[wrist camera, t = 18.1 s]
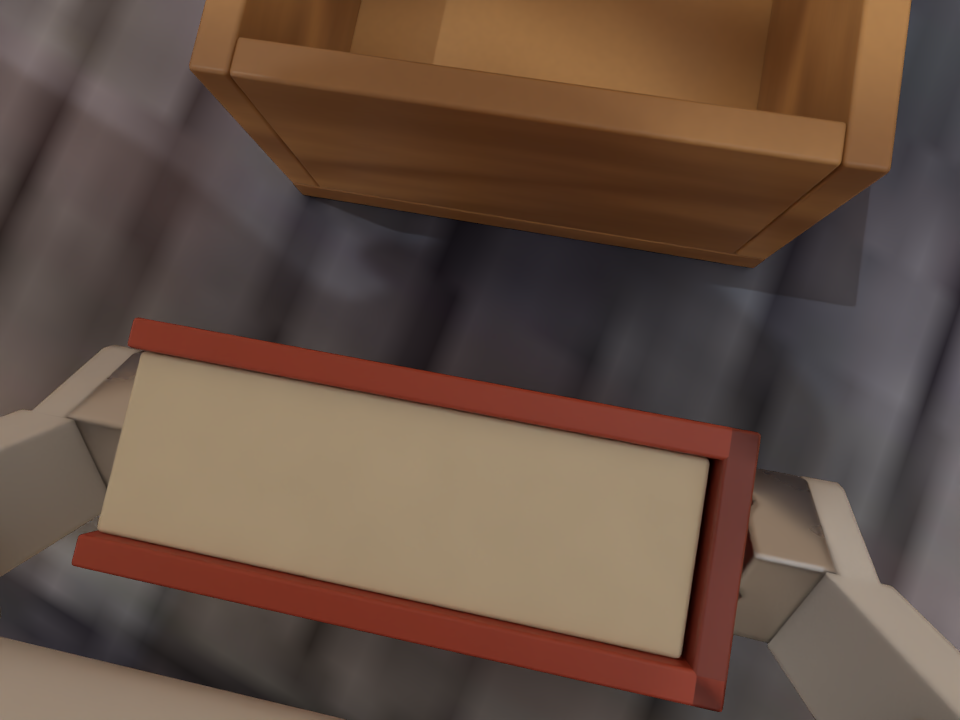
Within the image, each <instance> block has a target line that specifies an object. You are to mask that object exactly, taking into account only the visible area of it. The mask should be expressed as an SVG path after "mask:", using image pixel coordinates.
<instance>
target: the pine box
mask: <svg viewBox="0 0 960 720" xmlns="http://www.w3.org/2000/svg"><path fill="white" fill-rule="evenodd" d="M910 7H911V0H206V2H205V6H204V10H203V14H202V17H201V21H200V25H199V29H198V33H197V37H196V41H195V45H194V48H193V52H192V56H191V60H190V64H189V68H190V70H191V71H192V73H193V74H194V75H195V76H196V77H197V78H198V79H199V80H200V81H201V82H202V84H203V85H204V86H205V87H206V88H207V89H208V90H209V91H210V92H211V93H212V95H213V96H214V97H215V98H216V99H217V100H218V101H219V102H220V103H221V104H222V106H223V107H224V108H225V109H226V110H227V111H228V112H229V113H230V114H231V115H232V117H233V118H234V119H235V120H236V121H237V122H238V123H239V124H240V125H241V126H242V128H243V129H244V130H245V131H246V132H247V133H248V134H249V135H250V136H251V137H252V139H253V140H254V141H255V142H256V143H257V144H258V145H259V146H260V147H261V148H262V150H263V151H264V152H265V153H266V154H267V155H268V156H269V157H270V158H271V159H272V161H273V162H274V163H275V164H276V165H277V166H278V167H279V168H280V169H281V170H282V171H283V173H284V174H285V175H286V176H287V177H288V178H289V179H290V180H291V181H292V182H293V184H294V185H295V187H296V188H297V189H298V190H299V191H300V192H301V193H302V194H303V195H309V196H315V197H321V198H327V199H333V200H339V201H345V202H352V203H358V204H364V205H370V206H376V207H382V208H388V209H394V210H400V211H407V212H413V213H419V214H425V215H431V216H437V217H443V218H449V219H455V220H462V221H468V222H474V223H480V224H486V225H492V226H498V227H504V228H511V229H517V230H523V231H529V232H535V233H541V234H547V235H553V236H559V237H566V238H572V239H578V240H584V241H590V242H596V243H602V244H608V245H615V246H621V247H627V248H633V249H639V250H645V251H651V252H657V253H663V254H670V255H676V256H682V257H688V258H694V259H700V260H706V261H712V262H718V263H725V264H731V265H737V266H743V267H749V268H754V267H755V266H757V265H758V264H760V263H761V262H763V261H764V260H765V258H767V257H769V256H770V255H772V254H773V253H774V252H776V251H777V250H779V249H780V248H782V247H783V246H784V245H786V244H787V243H789V242H790V241H792V240H793V239H794V238H796V237H797V236H799V235H800V234H802V233H803V232H804V231H806V230H807V229H809V228H810V227H812V226H813V225H814V224H816V223H817V222H819V221H820V220H822V219H823V218H824V217H826V216H827V215H829V214H830V213H831V212H833V211H834V210H836V209H837V208H839V207H840V206H841V205H843V204H844V203H846V202H847V201H849V200H850V199H851V198H853V197H854V196H856V195H857V194H859V193H860V192H861V191H863V190H864V189H866V188H867V187H869V186H870V185H871V184H873V183H874V182H876V181H877V180H879V179H880V178H881V177H883V176H884V175H886V174H887V173H888V172H889V170H890V168H891V161H892V153H893V145H894V137H895V129H896V120H897V112H898V104H899V96H900V88H901V80H902V72H903V64H904V56H905V48H906V40H907V31H908V23H909V15H910Z"/></svg>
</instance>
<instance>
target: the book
mask: <svg viewBox="0 0 960 720" xmlns="http://www.w3.org/2000/svg"><path fill="white" fill-rule="evenodd" d="M128 346H130V347H131V348H136V349H140V350H145V351H146V352H143V353H142V354H141V356H140V360H139V364H138V368H137V372H136V376H135V380H134V384H133V388H132V392H131V396H130V400H129V404H128V408H127V411H126V415H125V419H124V423H123V427H122V431H121V435H120V439H119V443H118V447H117V451H116V455H115V459H114V463H113V467H112V471H111V475H110V479H109V483H108V487H107V491H106V495H105V498H104V502H103V506H102V510H101V514H100V518H99V522H98V526H97V527H98V531H94V532H89V533H85V534H81V535H79V537H78V539H77V543H76V547H75V551H74V555H73V559H72V565H73V566H77V567H81V568H85V569H90V570H94V571H99V572H103V573H108V574H112V575H116V576H121V577H125V578H130V579H134V580H138V581H143V582H147V583H152V584H156V585H160V586H165V587H169V588H174V589H178V590H183V591H187V592H191V593H196V594H200V595H205V596H209V597H213V598H218V599H222V600H227V601H231V602H236V603H240V604H244V605H249V606H253V607H258V608H262V609H266V610H271V611H275V612H280V613H284V614H289V615H293V616H297V617H302V618H306V619H311V620H315V621H319V622H324V623H328V624H333V625H337V626H342V627H346V628H350V629H355V630H359V631H364V632H368V633H372V634H377V635H381V636H386V637H390V638H395V639H399V640H403V641H408V642H412V643H417V644H421V645H425V646H430V647H434V648H439V649H443V650H448V651H452V652H456V653H461V654H465V655H470V656H474V657H478V658H483V659H487V660H492V661H496V662H500V663H505V664H509V665H514V666H518V667H523V668H527V669H531V670H536V671H540V672H545V673H549V674H553V675H558V676H562V677H567V678H571V679H576V680H580V681H584V682H589V683H593V684H598V685H602V686H606V687H611V688H615V689H620V690H624V691H629V692H633V693H637V694H642V695H646V696H651V697H655V698H659V699H664V700H668V701H673V702H677V703H682V704H686V705H690V706H695V707H699V708H704V709H708V710H712V711H717V712H721V711H722V709H723V704H724V696H725V689H726V682H727V675H728V668H729V661H730V654H731V646H732V639H733V632H734V625H735V618H736V611H737V603H738V596H739V589H740V582H741V575H742V568H743V561H744V553H745V546H746V539H747V532H748V525H749V518H750V510H751V503H752V496H753V489H754V482H755V475H756V468H757V460H758V453H759V446H760V439H761V436H760V434H759V433H757V432H753V431H747V430H742V429H736V428H731V427H726V426H720V425H715V424H710V423H704V422H699V421H693V420H688V419H683V418H677V417H672V416H666V415H661V414H656V413H650V412H645V411H639V410H634V409H629V408H623V407H618V406H613V405H607V404H602V403H596V402H591V401H586V400H580V399H575V398H569V397H564V396H559V395H553V394H548V393H542V392H537V391H532V390H526V389H521V388H516V387H510V386H505V385H499V384H494V383H489V382H483V381H478V380H472V379H467V378H462V377H456V376H451V375H445V374H440V373H435V372H429V371H424V370H419V369H413V368H408V367H402V366H397V365H392V364H386V363H381V362H375V361H370V360H365V359H359V358H354V357H348V356H343V355H338V354H332V353H327V352H322V351H316V350H311V349H305V348H300V347H295V346H289V345H284V344H278V343H273V342H268V341H262V340H257V339H251V338H246V337H241V336H235V335H230V334H225V333H219V332H214V331H208V330H203V329H198V328H192V327H187V326H181V325H176V324H171V323H165V322H160V321H154V320H149V319H144V318H135V319H134V320H133V324H132V328H131V332H130V336H129V340H128Z"/></svg>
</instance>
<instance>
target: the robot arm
mask: <svg viewBox="0 0 960 720" xmlns="http://www.w3.org/2000/svg"><path fill="white" fill-rule="evenodd" d="M143 352H146V351H144V350H143V351H141V350H136V349H132V348H127V347H123V346H118V345H112V346H109V347H105V348H103V349H102V350H100V351H99V352H98V353H97V354H96V355H95V356H94V357H92V358H91V359H90V360H89V361H88V362H87V363H86V364H84V365H83V366H82V367H81V368H80V369H79V370H78V371H76V372H75V373H74V374H73V375H72V376H71V377H70V378H68V379H67V380H66V381H65V382H64V383H63V384H62V385H61V386H59V387H58V388H57V389H56V390H55V391H54V392H53V393H51V394H50V395H49V396H48V397H47V398H46V399H45V400H43V401H42V402H41V403H40V404H39V405H38V406H37V407H35V408H34V409H33V410H32V411H30V410H24V409H21V410H18V411H16V412H13V413H10V414H8V415H5V416H2V417H0V577H1V576H2V575H4V574H6V573H7V572H9V571H10V570H12V569H14V568H15V567H17V566H18V565H20V564H22V563H23V562H25V561H26V560H28V559H30V558H31V557H33V556H34V555H36V554H38V553H39V552H41V551H42V550H44V549H46V548H47V547H49V546H50V545H52V544H54V543H55V542H57V541H58V540H60V539H62V538H63V537H65V536H66V535H68V534H69V533H71V532H73V531H74V530H76V529H77V528H79V527H81V526H82V525H84V524H85V523H87V522H89V521H90V520H92V519H93V518H95V517H97V516H98V515H100V514H101V510H102V506H103V502H104V498H105V495H106V491H107V487H108V483H109V479H110V475H111V471H112V467H113V463H114V459H115V455H116V451H117V447H118V443H119V439H120V435H121V431H122V427H123V423H124V419H125V415H126V411H127V408H128V404H129V400H130V396H131V392H132V388H133V384H134V380H135V376H136V372H137V368H138V364H139V360H140V356H141V354H142V353H143ZM0 618H1V608H0ZM733 634H734V635H738V636H742V637H746V638H750V639H754V640H758V641H763V642H767V643H769V644H768V645H767V646H768V648H769V649H770V651H771V652H772V654H773V656H774V657H775V659H776V660H777V662H778V663H779V665H780V666H781V668H782V669H783V671H784V672H785V674H786V675H787V677H788V678H789V680H790V681H791V683H792V684H793V686H794V688H795V689H796V691H797V692H798V694H799V695H800V697H801V698H802V700H803V701H804V703H805V704H806V706H807V707H808V709H809V710H810V712H811V713H812V715H813V717H814V718H815V720H960V652H959V651H958V650H957V649H956V648H955V647H954V646H953V645H952V644H951V643H950V642H949V641H948V640H947V639H946V638H945V637H944V636H943V635H942V634H941V633H940V632H939V631H938V630H936V629H935V628H934V627H933V626H932V625H931V624H930V623H929V622H928V621H927V620H926V619H925V618H924V617H923V616H922V615H921V614H920V613H919V612H918V611H917V610H916V609H915V608H914V607H913V606H912V605H911V604H910V603H909V602H908V601H907V600H906V599H905V598H904V597H903V596H902V595H901V594H900V593H899V592H898V591H896V590H895V589H894V588H893V587H892V586H889V585H885V584H881V583H880V581H879V579H878V576H877V573H876V571H875V568H874V566H873V563H872V560H871V558H870V555H869V553H868V550H867V548H866V545H865V542H864V540H863V537H862V535H861V532H860V530H859V527H858V524H857V522H856V519H855V517H854V514H853V512H852V509H851V506H850V504H849V501H848V499H847V496H846V494H845V491H844V489H843V488H842V487H841V486H840V485H839V484H838V483H836V482H831V481H825V480H820V479H814V478H809V477H803V476H800V477H798V476H796V475H791V474H786V473H780V472H775V471H769V470H764V469H758V468H756V475H755V482H754V489H753V496H752V503H751V510H750V518H749V525H748V532H747V539H746V546H745V553H744V561H743V568H742V575H741V582H740V589H739V596H738V603H737V611H736V618H735V625H734V632H733ZM0 720H346V719H341V718H337V717H333V716H329V715H325V714H321V713H317V712H312V711H308V710H304V709H300V708H296V707H292V706H287V705H283V704H279V703H275V702H271V701H267V700H262V699H258V698H254V697H250V696H246V695H242V694H237V693H233V692H229V691H225V690H221V689H217V688H212V687H208V686H204V685H200V684H196V683H191V682H187V681H183V680H179V679H175V678H171V677H166V676H162V675H158V674H154V673H150V672H146V671H141V670H137V669H133V668H129V667H125V666H121V665H116V664H112V663H108V662H104V661H100V660H95V659H91V658H87V657H83V656H79V655H75V654H70V653H66V652H62V651H58V650H54V649H50V648H45V647H41V646H37V645H33V644H29V643H24V642H20V641H16V640H12V639H8V638H4V637H0Z"/></svg>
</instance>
